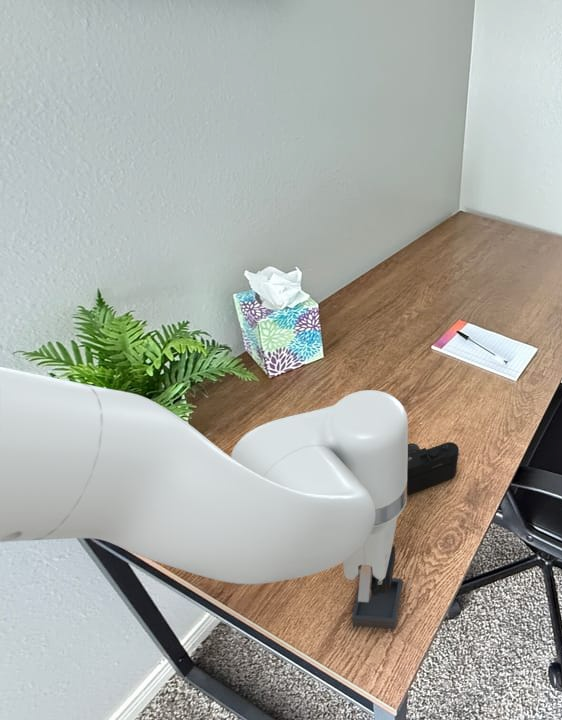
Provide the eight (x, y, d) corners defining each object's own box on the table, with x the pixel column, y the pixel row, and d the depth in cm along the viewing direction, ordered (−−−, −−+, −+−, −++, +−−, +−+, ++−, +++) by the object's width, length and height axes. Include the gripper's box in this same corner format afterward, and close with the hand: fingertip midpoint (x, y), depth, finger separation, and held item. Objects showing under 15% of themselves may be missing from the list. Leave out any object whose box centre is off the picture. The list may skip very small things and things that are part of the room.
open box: (395, 629, 65) (395, 621, 64) (352, 626, 65) (351, 618, 64) (402, 586, 70) (402, 578, 69) (362, 583, 70) (361, 575, 68)
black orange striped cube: (390, 588, 60) (389, 575, 58) (359, 586, 60) (357, 573, 58) (395, 559, 64) (395, 545, 61) (366, 557, 63) (364, 543, 61)
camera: (445, 450, 92) (448, 422, 87) (462, 477, 87) (466, 449, 82) (375, 475, 85) (374, 446, 80) (390, 505, 81) (389, 477, 76)
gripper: (355, 429, 57) (363, 514, 68) (313, 561, 44) (331, 639, 55) (417, 435, 57) (414, 518, 69) (393, 568, 44) (395, 643, 55)
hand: (377, 571), depth 62 cm, fingers closed on black orange striped cube, 4 cm apart
